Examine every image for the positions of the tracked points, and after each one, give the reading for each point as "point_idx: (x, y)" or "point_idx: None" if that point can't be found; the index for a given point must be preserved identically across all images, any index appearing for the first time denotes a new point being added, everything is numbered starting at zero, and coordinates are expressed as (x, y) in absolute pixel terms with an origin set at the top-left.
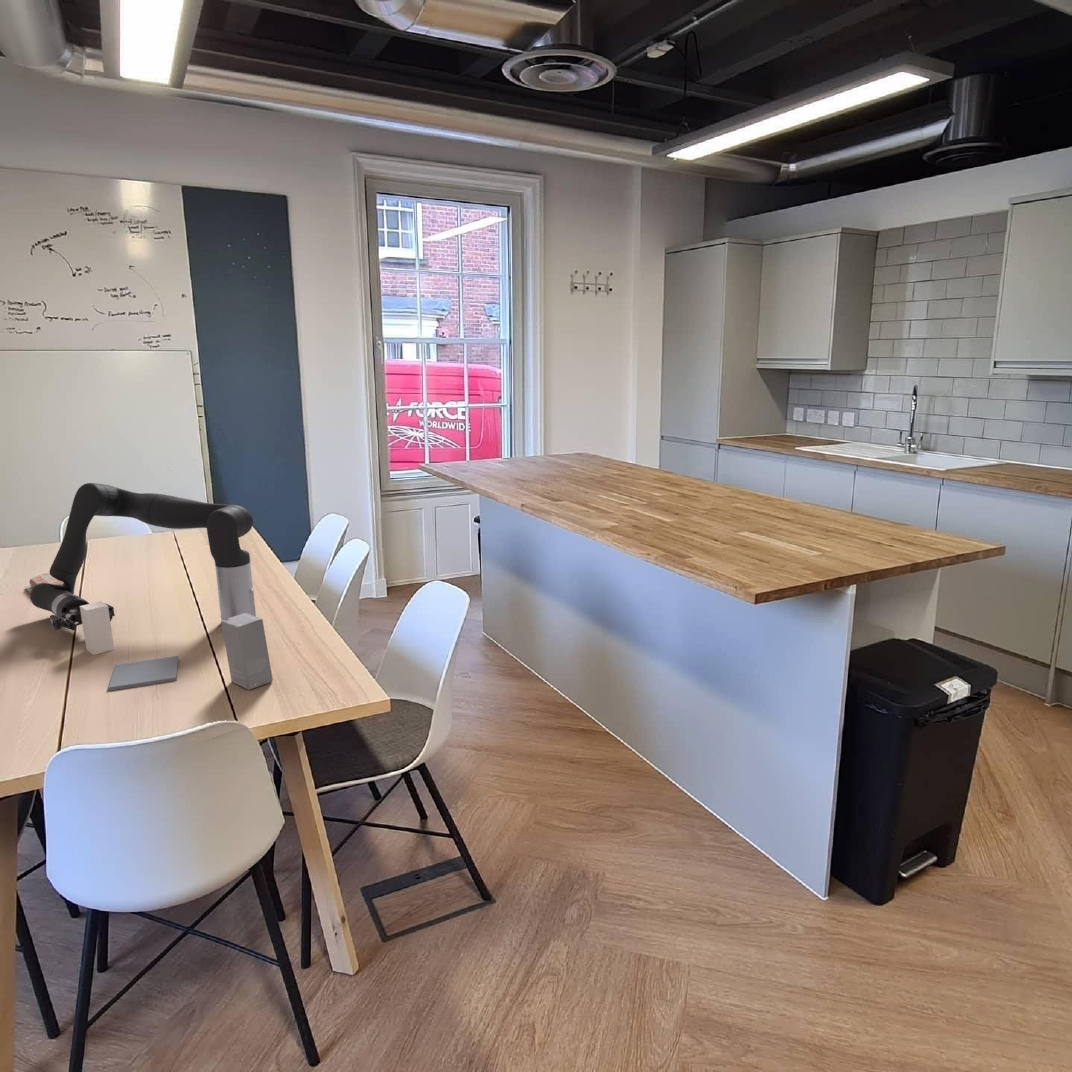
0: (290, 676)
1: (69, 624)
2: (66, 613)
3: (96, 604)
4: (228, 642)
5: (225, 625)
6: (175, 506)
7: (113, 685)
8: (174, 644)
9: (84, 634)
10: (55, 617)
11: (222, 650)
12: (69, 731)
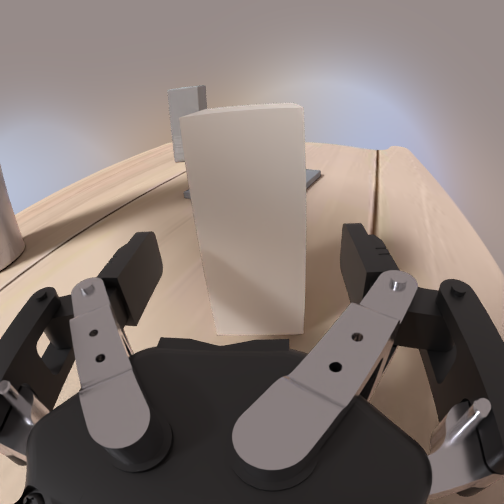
0: (166, 157)
1: (370, 235)
2: (380, 459)
3: (225, 109)
4: (203, 107)
5: (200, 89)
6: None
7: (313, 170)
8: (128, 237)
9: (305, 268)
10: (486, 360)
11: (127, 197)
12: (370, 155)
